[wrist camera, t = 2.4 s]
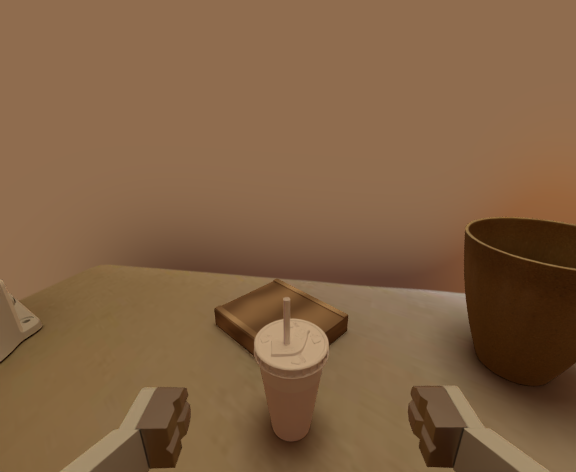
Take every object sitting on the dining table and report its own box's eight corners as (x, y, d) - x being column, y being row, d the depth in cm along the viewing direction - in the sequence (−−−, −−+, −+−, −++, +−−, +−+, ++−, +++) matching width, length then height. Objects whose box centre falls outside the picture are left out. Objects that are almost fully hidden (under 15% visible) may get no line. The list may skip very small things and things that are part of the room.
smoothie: (243, 424, 28) (233, 297, 23) (289, 383, 33) (289, 269, 28) (293, 474, 24) (295, 334, 19) (338, 420, 29) (348, 294, 24)
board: (215, 324, 42) (214, 308, 42) (277, 292, 50) (277, 278, 49) (284, 380, 33) (284, 361, 32) (346, 330, 41) (348, 314, 40)
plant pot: (468, 310, 46) (494, 209, 40) (605, 368, 35) (667, 241, 29) (417, 355, 37) (441, 233, 31) (579, 451, 26) (660, 292, 20)
